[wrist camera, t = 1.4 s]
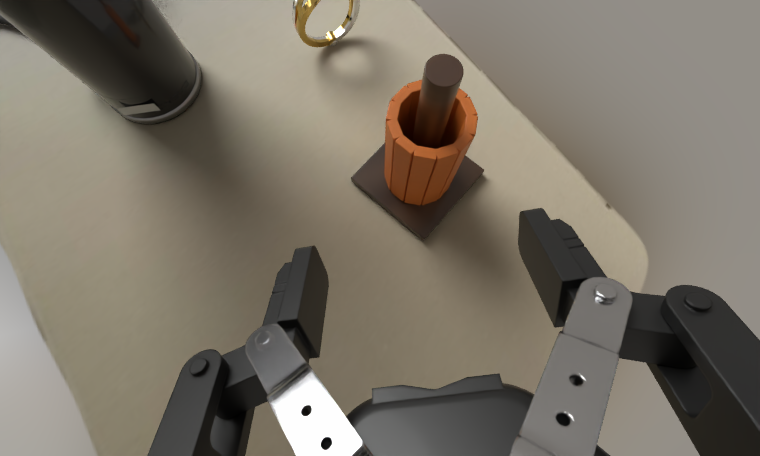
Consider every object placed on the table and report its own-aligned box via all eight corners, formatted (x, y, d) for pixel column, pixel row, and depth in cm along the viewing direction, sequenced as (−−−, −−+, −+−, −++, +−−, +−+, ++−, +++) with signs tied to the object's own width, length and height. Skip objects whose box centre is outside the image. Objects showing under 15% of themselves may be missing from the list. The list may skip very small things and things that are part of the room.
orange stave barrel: (371, 176, 33) (368, 120, 24) (413, 132, 35) (426, 63, 26) (422, 218, 32) (438, 176, 23) (463, 171, 34) (495, 113, 24)
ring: (353, 19, 39) (347, -56, 32) (367, 40, 38) (364, -31, 31) (296, 44, 38) (275, -26, 31) (309, 66, 38) (291, 0, 30)
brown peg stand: (351, 181, 34) (330, 75, 20) (411, 119, 36) (432, -19, 21) (423, 241, 33) (457, 175, 18) (482, 173, 34) (556, 63, 20)
